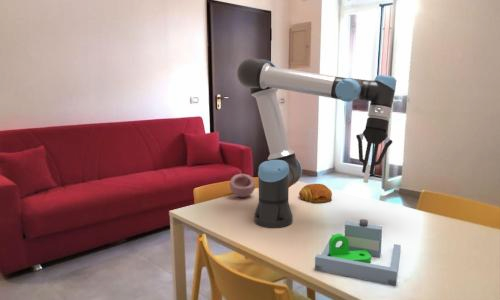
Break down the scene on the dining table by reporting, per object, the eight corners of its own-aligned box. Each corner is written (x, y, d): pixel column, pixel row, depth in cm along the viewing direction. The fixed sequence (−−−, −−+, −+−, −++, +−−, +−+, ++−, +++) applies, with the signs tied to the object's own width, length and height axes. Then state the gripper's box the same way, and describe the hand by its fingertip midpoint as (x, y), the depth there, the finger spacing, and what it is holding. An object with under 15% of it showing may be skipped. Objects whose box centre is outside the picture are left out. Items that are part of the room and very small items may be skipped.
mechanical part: (335, 267, 110) (336, 242, 108) (328, 258, 116) (329, 234, 114) (374, 264, 111) (375, 239, 110) (365, 255, 117) (366, 231, 116)
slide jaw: (343, 251, 120) (345, 219, 118) (345, 247, 123) (346, 216, 121) (379, 257, 115) (381, 224, 113) (380, 253, 118) (382, 221, 116)
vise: (314, 269, 108) (315, 256, 108) (332, 238, 130) (332, 227, 129) (395, 285, 99) (396, 271, 99) (400, 249, 121) (401, 237, 120)
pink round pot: (232, 201, 172) (231, 177, 170) (228, 194, 183) (227, 171, 181) (257, 199, 174) (257, 175, 172) (252, 192, 186) (251, 170, 184)
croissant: (297, 199, 181) (295, 183, 180) (328, 193, 182) (326, 178, 181) (304, 208, 167) (302, 191, 166) (338, 202, 168) (336, 185, 167)
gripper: (358, 114, 134) (346, 178, 134) (397, 120, 129) (383, 186, 130) (360, 117, 141) (348, 178, 141) (397, 122, 136) (384, 186, 137)
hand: (365, 182), depth 135 cm, fingers closed
